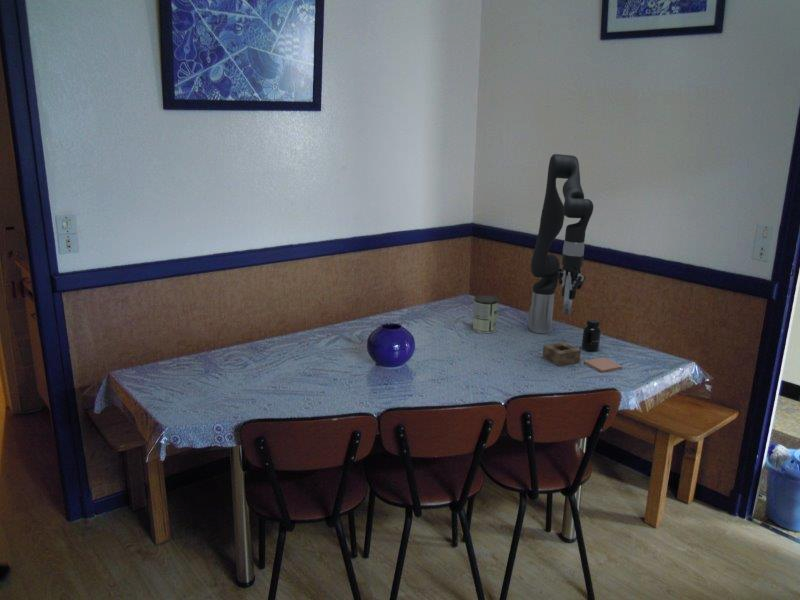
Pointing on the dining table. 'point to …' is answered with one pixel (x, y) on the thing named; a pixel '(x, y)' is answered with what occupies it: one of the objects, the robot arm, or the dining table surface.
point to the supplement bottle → (591, 335)
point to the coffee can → (485, 313)
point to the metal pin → (567, 298)
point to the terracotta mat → (603, 364)
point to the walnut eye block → (561, 354)
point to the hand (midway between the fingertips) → (568, 297)
